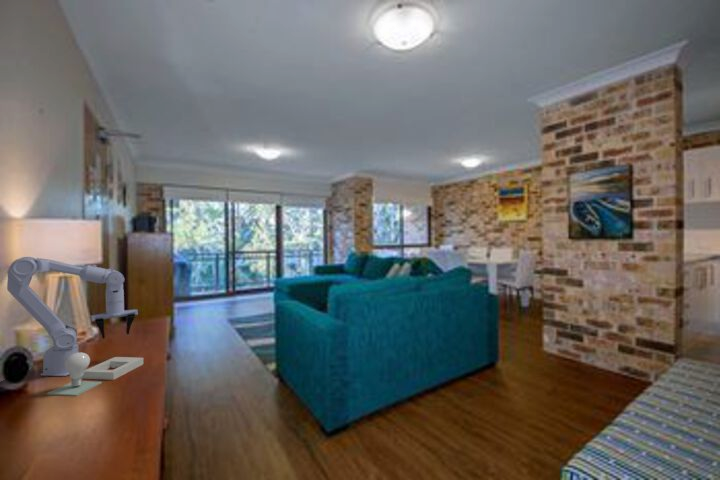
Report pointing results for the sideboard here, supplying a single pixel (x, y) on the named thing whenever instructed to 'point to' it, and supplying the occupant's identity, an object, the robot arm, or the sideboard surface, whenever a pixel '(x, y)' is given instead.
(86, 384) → the mat
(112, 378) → the bulb holder
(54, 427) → the sideboard surface
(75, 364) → the lightbulb
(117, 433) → the sideboard surface
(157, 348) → the sideboard surface
